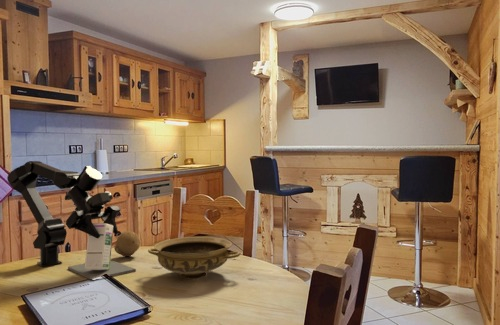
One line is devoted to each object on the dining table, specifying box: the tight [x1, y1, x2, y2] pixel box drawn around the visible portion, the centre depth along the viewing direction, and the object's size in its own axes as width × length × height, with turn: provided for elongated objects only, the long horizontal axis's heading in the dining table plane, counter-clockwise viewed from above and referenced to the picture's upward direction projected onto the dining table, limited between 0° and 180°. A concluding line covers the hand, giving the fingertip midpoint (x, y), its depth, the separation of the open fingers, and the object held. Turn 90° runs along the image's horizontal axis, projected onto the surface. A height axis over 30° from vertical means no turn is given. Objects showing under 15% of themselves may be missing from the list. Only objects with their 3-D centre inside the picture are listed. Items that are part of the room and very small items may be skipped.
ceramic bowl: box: [147, 236, 241, 280], centre depth 118 cm, size 30×24×10 cm
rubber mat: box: [67, 259, 137, 280], centre depth 126 cm, size 20×14×1 cm
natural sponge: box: [114, 230, 141, 257], centre depth 143 cm, size 9×9×10 cm
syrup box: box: [84, 222, 114, 270], centre depth 122 cm, size 6×6×14 cm
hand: (108, 235), depth 123 cm, fingers open, 7 cm apart
